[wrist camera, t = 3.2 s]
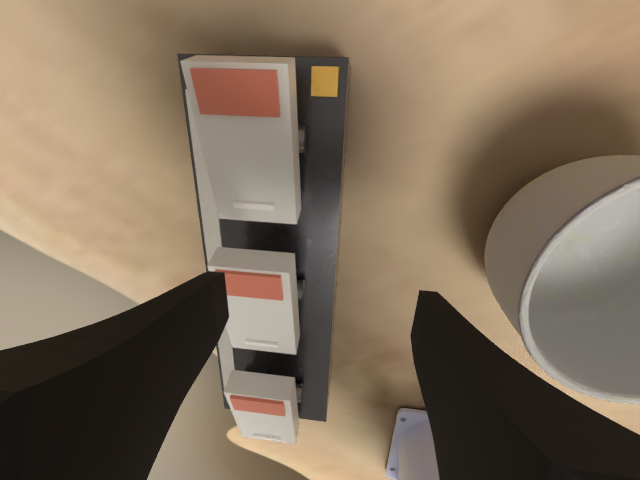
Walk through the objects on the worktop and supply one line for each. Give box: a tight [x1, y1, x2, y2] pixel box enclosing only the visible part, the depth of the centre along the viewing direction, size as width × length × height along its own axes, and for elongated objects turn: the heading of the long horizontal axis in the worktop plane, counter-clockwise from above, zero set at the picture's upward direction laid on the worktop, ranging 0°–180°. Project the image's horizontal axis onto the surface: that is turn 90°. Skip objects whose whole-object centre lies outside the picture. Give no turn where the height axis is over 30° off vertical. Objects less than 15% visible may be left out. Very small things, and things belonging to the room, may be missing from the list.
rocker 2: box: [207, 247, 300, 355], centre depth 17 cm, size 7×4×2 cm, turn 178°
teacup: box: [484, 155, 640, 405], centre depth 15 cm, size 14×11×8 cm
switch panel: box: [178, 54, 351, 422], centre depth 20 cm, size 24×8×5 cm, turn 178°
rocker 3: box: [224, 370, 299, 444], centre depth 21 cm, size 7×4×2 cm, turn 178°
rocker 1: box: [180, 55, 301, 224], centre depth 14 cm, size 7×4×2 cm, turn 178°
